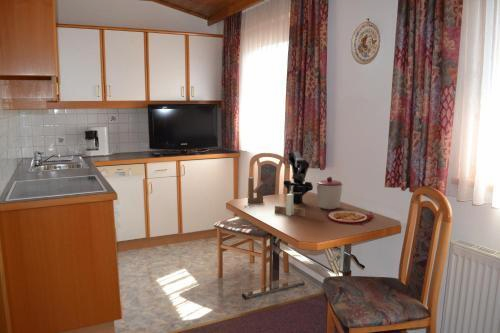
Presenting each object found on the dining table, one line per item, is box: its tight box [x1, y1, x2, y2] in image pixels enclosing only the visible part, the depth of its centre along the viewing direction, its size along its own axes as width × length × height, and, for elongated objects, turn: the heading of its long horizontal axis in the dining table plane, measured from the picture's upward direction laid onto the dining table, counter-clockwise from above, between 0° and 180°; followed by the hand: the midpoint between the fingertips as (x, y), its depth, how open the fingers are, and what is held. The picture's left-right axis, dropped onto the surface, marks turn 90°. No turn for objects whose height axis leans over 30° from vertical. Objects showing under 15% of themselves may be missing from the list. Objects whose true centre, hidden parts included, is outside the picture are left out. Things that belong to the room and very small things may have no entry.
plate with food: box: [320, 209, 374, 227], centre depth 245 cm, size 25×26×4 cm
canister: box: [315, 176, 344, 210], centre depth 270 cm, size 18×18×21 cm
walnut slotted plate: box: [274, 205, 306, 218], centre depth 255 cm, size 20×2×4 cm, turn 62°
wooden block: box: [247, 177, 264, 204], centre depth 287 cm, size 4×11×18 cm, turn 116°
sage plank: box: [285, 193, 294, 216], centre depth 254 cm, size 4×3×13 cm
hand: (294, 195), depth 261 cm, fingers open, 9 cm apart
